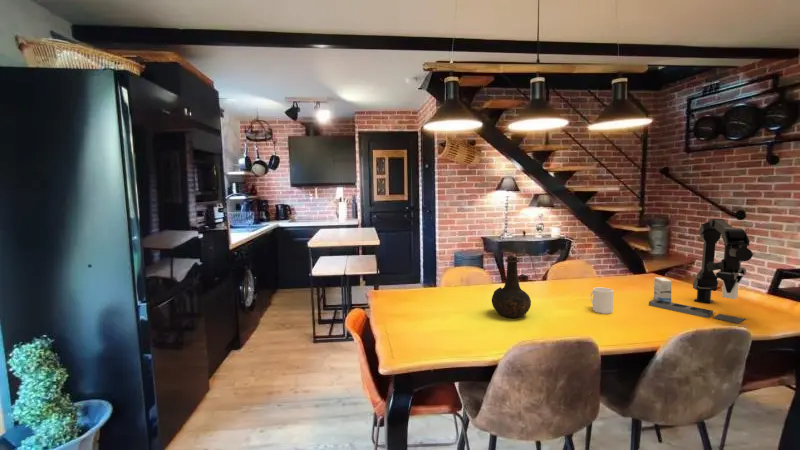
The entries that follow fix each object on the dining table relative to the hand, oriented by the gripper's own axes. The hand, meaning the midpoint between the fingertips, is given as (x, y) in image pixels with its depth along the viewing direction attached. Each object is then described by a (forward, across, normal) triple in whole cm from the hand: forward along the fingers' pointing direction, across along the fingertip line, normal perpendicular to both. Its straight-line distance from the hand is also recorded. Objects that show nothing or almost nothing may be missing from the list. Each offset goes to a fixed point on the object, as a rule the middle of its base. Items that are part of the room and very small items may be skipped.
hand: (730, 291), depth 170 cm
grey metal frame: (+12, +2, -18) cm, 22 cm away
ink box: (+13, -8, -29) cm, 33 cm away
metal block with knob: (+2, 0, 0) cm, 2 cm away
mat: (+12, 0, 0) cm, 12 cm away
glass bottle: (+12, +71, -63) cm, 96 cm away
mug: (+12, +32, -41) cm, 53 cm away
